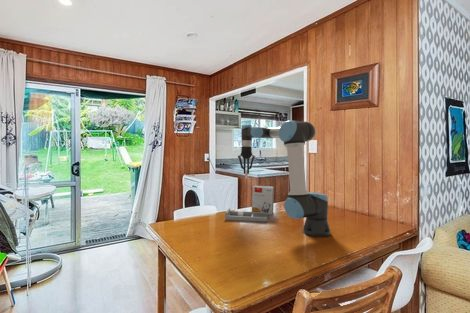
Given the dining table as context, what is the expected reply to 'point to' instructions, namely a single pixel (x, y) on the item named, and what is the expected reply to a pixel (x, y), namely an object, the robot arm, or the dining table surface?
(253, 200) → the hard drive box
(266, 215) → the lane
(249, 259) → the dining table surface
